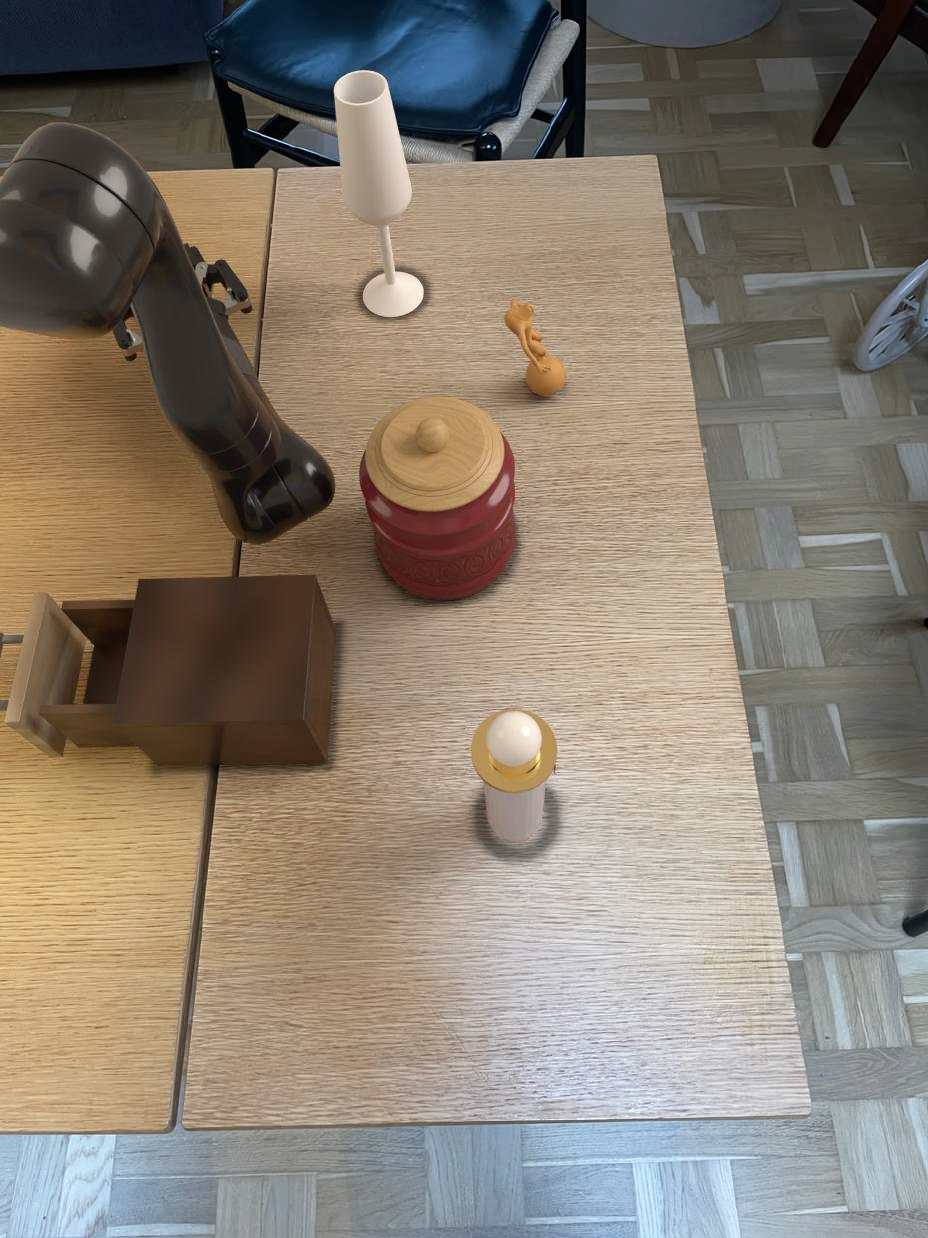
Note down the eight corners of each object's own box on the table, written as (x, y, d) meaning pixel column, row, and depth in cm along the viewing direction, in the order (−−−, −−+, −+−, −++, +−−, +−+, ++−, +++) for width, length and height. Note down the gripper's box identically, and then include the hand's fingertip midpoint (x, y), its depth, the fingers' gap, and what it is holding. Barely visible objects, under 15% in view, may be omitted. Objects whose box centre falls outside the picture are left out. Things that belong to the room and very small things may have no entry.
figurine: (573, 417, 98) (579, 331, 87) (514, 427, 98) (512, 342, 87) (555, 354, 102) (559, 264, 91) (498, 364, 101) (495, 275, 91)
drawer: (-8, 758, 83) (-59, 723, 76) (20, 638, 89) (-26, 594, 81) (206, 755, 83) (175, 719, 75) (221, 633, 88) (194, 588, 80)
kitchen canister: (349, 544, 92) (313, 427, 77) (448, 462, 96) (433, 334, 80) (444, 630, 88) (427, 524, 72) (544, 541, 91) (549, 421, 76)
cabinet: (156, 766, 83) (112, 723, 74) (176, 633, 89) (138, 578, 80) (327, 763, 83) (303, 720, 74) (336, 629, 88) (315, 574, 79)
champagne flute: (365, 271, 108) (326, 63, 87) (425, 270, 108) (401, 61, 87) (359, 317, 105) (318, 113, 84) (422, 316, 105) (396, 111, 84)
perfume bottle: (515, 866, 78) (514, 791, 60) (464, 816, 80) (449, 729, 62) (565, 816, 80) (578, 728, 62) (514, 768, 82) (513, 669, 64)
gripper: (270, 312, 93) (207, 207, 100) (126, 372, 90) (72, 260, 97) (286, 367, 99) (227, 265, 106) (153, 424, 97) (101, 316, 104)
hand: (153, 263), depth 102 cm, fingers closed on robot figurine, 6 cm apart
